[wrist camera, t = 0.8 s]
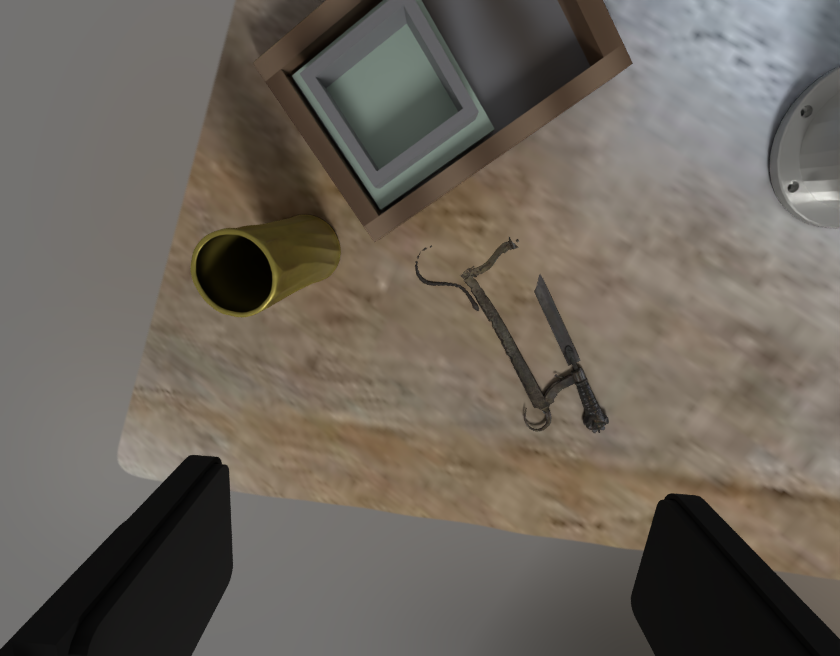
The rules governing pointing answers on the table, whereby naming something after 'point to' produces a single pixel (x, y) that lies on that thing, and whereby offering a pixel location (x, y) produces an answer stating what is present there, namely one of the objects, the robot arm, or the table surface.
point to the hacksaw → (592, 410)
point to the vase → (263, 263)
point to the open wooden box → (482, 67)
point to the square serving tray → (394, 99)
